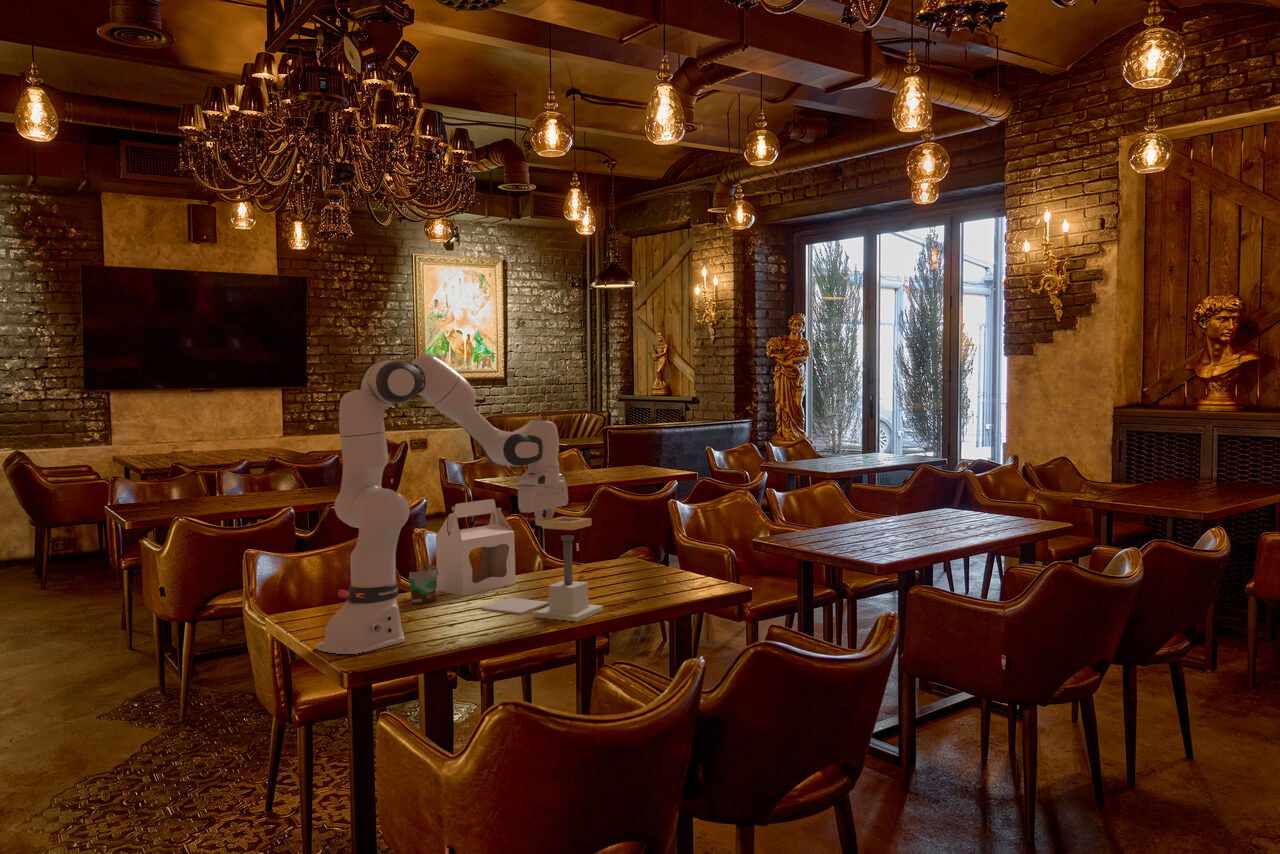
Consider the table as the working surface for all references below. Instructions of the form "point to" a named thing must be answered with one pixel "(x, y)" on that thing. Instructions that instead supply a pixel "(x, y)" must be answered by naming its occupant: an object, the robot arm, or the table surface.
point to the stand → (568, 593)
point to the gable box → (459, 544)
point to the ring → (565, 523)
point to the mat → (515, 606)
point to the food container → (423, 585)
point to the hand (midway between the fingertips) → (544, 524)
